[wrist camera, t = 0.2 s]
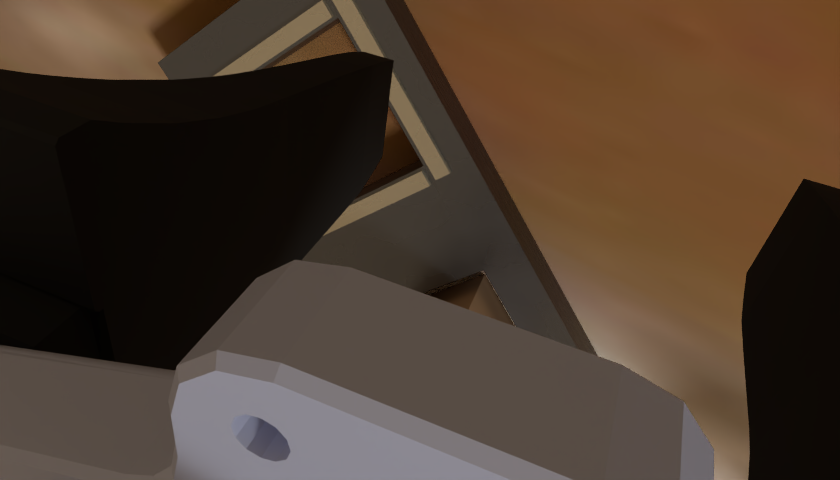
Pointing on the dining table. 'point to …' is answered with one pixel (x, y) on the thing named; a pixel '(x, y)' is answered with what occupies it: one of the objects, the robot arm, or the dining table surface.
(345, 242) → the grey peg holder tray
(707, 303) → the dining table surface
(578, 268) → the dining table surface
